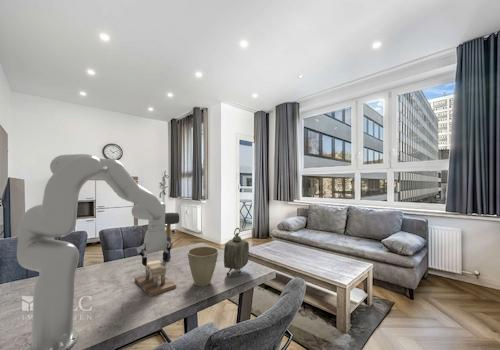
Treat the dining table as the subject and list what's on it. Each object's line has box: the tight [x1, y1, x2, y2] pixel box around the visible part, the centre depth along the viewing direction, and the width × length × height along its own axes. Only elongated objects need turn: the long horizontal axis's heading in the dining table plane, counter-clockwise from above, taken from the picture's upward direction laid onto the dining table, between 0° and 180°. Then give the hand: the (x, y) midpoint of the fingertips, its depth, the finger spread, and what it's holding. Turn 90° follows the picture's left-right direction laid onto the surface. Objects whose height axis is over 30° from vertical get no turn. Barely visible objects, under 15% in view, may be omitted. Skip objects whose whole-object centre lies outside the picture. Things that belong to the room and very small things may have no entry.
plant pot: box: [187, 246, 219, 287], centre depth 114 cm, size 15×15×16 cm
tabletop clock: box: [223, 227, 250, 276], centre depth 127 cm, size 14×9×25 cm, turn 159°
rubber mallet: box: [165, 212, 180, 262], centre depth 145 cm, size 12×8×30 cm, turn 119°
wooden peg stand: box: [134, 268, 177, 297], centre depth 111 cm, size 20×12×6 cm, turn 44°
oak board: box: [144, 259, 167, 277], centre depth 111 cm, size 14×6×3 cm, turn 37°
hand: (154, 263), depth 111 cm, fingers open, 9 cm apart
